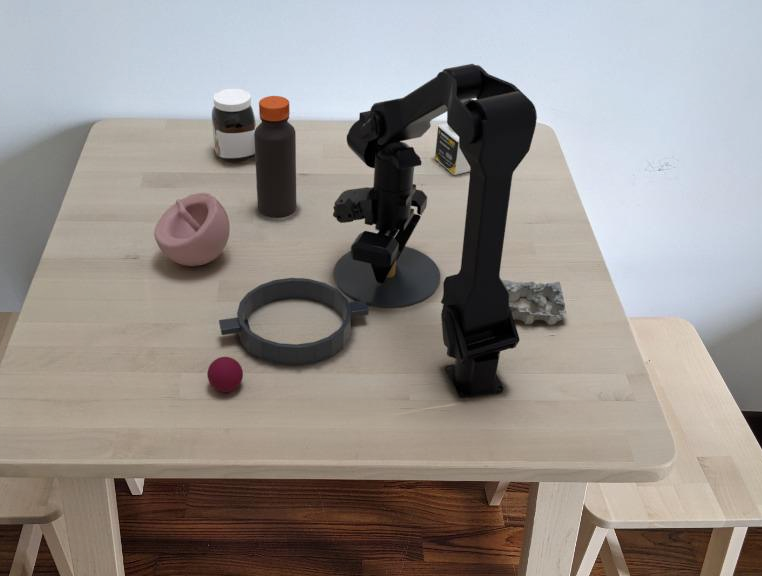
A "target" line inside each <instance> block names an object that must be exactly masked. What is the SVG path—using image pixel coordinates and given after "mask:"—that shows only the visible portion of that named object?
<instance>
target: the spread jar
mask: <svg viewBox="0 0 762 576" xmlns="http://www.w3.org/2000/svg"><path fill="white" fill-rule="evenodd" d="M251 100H252V97H251V94H250V93H249V92H248V91H246V90H243V89H239V88H228V89H227V88H226V89H222V90H220V91H217V92H216V93H214V95H213V107H212V109H211V125H212V136H213V137H212V138H213V144H214V145H213V146H214V151H215V154H216V157H217V158H218V159H219V160H220V161H222V162H225V163H230V164H239V163H245V162H247V161H249V160H251V159H253V158H254V157H255V136H254V132H255V129H256V127H257V123H256V118H255V117H256V116H255V112H254V109H253V107H252V101H251Z"/></svg>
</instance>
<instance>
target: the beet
mask: <svg viewBox="0 0 762 576" xmlns="http://www.w3.org/2000/svg"><path fill="white" fill-rule="evenodd" d="M243 376H244V372H243V367H242V366H241V364H240V363H239V361H238V360H237V359H235V358H233V357H230V356H221V357H218V358H216V359H214V360H213V361H212V362H211V363H210V365H209V366H208V369H207V380H208V383H209V384H210V386H211V387H212V388H213V389H215V390H216V391H218V392H221V393H229V392H233V391H234V390H236V389H237V388H238V387H240V385H241V383H242V382H243V378H244V377H243Z"/></svg>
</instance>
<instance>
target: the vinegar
mask: <svg viewBox="0 0 762 576" xmlns="http://www.w3.org/2000/svg"><path fill="white" fill-rule="evenodd" d="M258 114H259V120H260V121H261V122H260V123H259V124H258V125H256V129H255V132H254V136H255V156H254V157H255V159H254V160H255V177H256V178H255V179H256V199H257V200H256V202H257V211H258V212H259V214H260V215H262V216H264V217H267V218H272V219H281V218H286V217H290V216H291V215H293V214H294V213H295V212H296V211H297V145H296V144H297V142H296V140H297V139H296V138H297V137H296V135H297V134H296V132H297V131H296V129H295V127H294V126H293V125H292V124H291V123H290V122H289V119H290V100H289V99H288V98H286V97H284V96H280V95H268V96H264V97H262V98H261V99H260V100H259V101H258Z"/></svg>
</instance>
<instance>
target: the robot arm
mask: <svg viewBox="0 0 762 576" xmlns="http://www.w3.org/2000/svg"><path fill="white" fill-rule="evenodd" d="M469 99H472V101H469V102H468V103H467V104H466V105H464V104H463V103H464V102H466V101H467V100H469ZM445 113H446V123H447V124H448V125H449V126H450V127H451V129H452V130H453V131H454V132H455V133H456V134H457V135H458V136H459V148H460V150H461V151H462V153H463V155H464V157H465V158H466V160H467V162H468V164H469V166H470V171H469V181H468V192H467V201H466V209H465V210H466V211H465V222H464V231H463V233H464V234H463V241H462V250H461V252H462V253H461V261H460V270H459V272H458V273H456V274H452V275H448V276H446V277H445V279H444V281H443V283H442V286H443V289H442V290H443V291H442V292H443V293H442V299H441V300H440V304H442V309H441V313H440V318H441V319H440V320H441V331H442V340H443V345H444V346H445V347H446V348H447V350H446V356H448V358H452V359H455V361H454V364H447V365H445V367H444V372H445V374H446V375H447V377H448V379H449V381H450V383H451V385H452V386H453V389H454V391H455V393H456V394H457V396H458V398H460V399H464V398H465V399H466V398H473V397H479V396H486V395H492V394H500V393H503V392H504V390H505V387H504V385H503V383H502V382H501V380H500V377H499V376H498V375H497V372H498V367H499V362H500V356H501V355H500V354H501V352H503V351H506V350H509V349H511V350H512V349H515V348H516V347H517V345H518V344H519V342H520V335H519V332H518V329H517V326H516V322H515V319H513V316H512V312H511V309H510V306H509V304H510V301H509V292H508V290H507V289H506V287H505V285H504V283H503V282H502V280H503V279H502V278H501V276H500V275H501V267H502V266H501V265H502V257H503V251H504V243H505V236H506V235H505V234H506V228H507V221H508V220H507V219H508V212H509V204H510V197H511V190H512V182H513V175H514V172H515V171H516V169H518V167H519V166H520V165H521V162H523V160H524V158H525V157H526V156H527V155H528V153H529V151H530V149H531V145H532V143H533V138H534V135H535V131H536V126H537V119H538V115H537V109H536V106H535V104H534V103H533V101H532V100H530V98H529V97H527V95H526V94H524V92H523V91H521V90H520V89H519V88H518V87H517V86H516V85H515V84H513V83H511V82H509V81H507V80H504V79H502V78H500V77H497V76H495V75H491V74H490V73H489V72H487V71H486V70H485V69H484V67H482V66H481V65H479V64H475V63H469V64H463V65H458V66H452V67H447V68H443V69H442V71H439V72H438V74H437V75H436V76H435V77H433V78H432V79H430V80H428V81H427V82H425V83H424V84H422V85H420V86H419V87H418V88H416V89H415V90H413V91H411V92H410V93H408V94H406V95H405V96H403V97H399V98H395V99H390V100H385V101H378V102H375V103H373V104H372V106H371V107H370V109H369V110H367V111H361V112H359V113H358V114H359V118H358V120H357V121H355V122H354V123H353V124H352V125H351V127H350V128H349V130H348V132H347V134H346V144H347V146H348V147H349V149H350V150H351V151H352V152H353V153H354V154H355V155H356V156H357V157H358V158H359V159H360V160H361V161H362V163H364V165H366V166H367V167H368V168H371V169H374V170H373V171H374V172H373V185H372V186H373V187H367V186H366V187H359V188H351V189H346V190H344V191H343V192H341V194H340V195H339V196H338V197H337V198H336V199H335V201H334V203H333V204H334V205H333V213H332V216H333V217H334V218H335V219H336V221H337V222H338V223H340V224H346V223H352V222H354V221H360V220H364V225H366V226H373V225H375V226H374V230H375V231H377V232H373V231H368V230H363V231H362V232H361V233H359V234H358V235H357V236H356V238H355V240H354V241H353V242H352V243H351V246H350V251H351V258H352V259H353V260H357V261H362V262H366V263H370V264H371V266H372V269H373V272H374V275H375V278H376V281H377V282H378V283H384V281H385V279H386V277H387V276H388V274H389V272H390V270H391V268H392V266H393V264H394V262H395V261H397V260H398V258H399V256H400V254H401V252H402V251H403V249H404V247H405V246H406V245H407V244H408V242H409V240H410V238H411V236H412V235H413V233H414V231H415V229H416V227H417V225H418V224H419V222H420V220H421V218H422V216H423V213H425V210H426V209H427V203H428V196H427V194H426V193H425V192H424V191H423V190H422V189H421V190H420V189H417V184H414V175H415V174H414V173H415V167H420V166H422V160H421V157H420V156H419V155H418V153H416V151H415V149H414V147H413V146H410V145H409V144H407V143H406V142H405V141H410V140H413V139H419V138H422V137H423V136H424V135H425V134H426V132H428V130H429V129H430V128H431V126H432V124H431V121H432V120H435V119H436V118H438V117H440V116H441V115H444V114H445ZM412 207H415V208H416V213H415V208H412Z"/></svg>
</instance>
